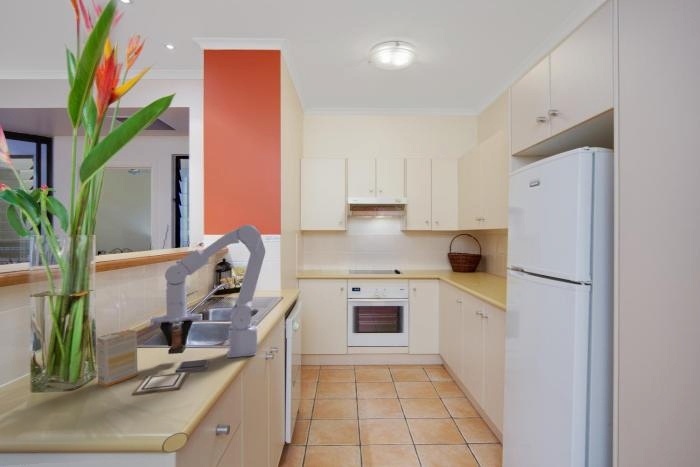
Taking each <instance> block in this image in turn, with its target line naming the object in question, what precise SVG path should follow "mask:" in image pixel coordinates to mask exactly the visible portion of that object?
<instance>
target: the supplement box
mask: <svg viewBox="0 0 700 467" xmlns="http://www.w3.org/2000/svg"><path fill="white" fill-rule="evenodd" d="M96 355H97V357H96V358H97V361H96V362H97V384H99V385H101V386H103V387H105V388H108V387H110V386H112V385H116V384H118V383H121V382H123V381H126V380H128V379H131V378H134V377H136V376H138V331H137V330H133V329H130V328H128V329H123V330H120V331H119V330H118V331H115V332H111V333H107V334H101V335H99V336H96Z"/></svg>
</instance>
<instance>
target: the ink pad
mask: <svg viewBox="0 0 700 467" xmlns="http://www.w3.org/2000/svg"><path fill="white" fill-rule="evenodd" d="M209 365H210V359H209V358H208V359H207V358H206V359H198V360H197V359H196V360H186V361H181V362H180V364H179V366H177V368H176V369H175V370H176V372H175V373H182V372H189V373H191V372H202V371H203V372H204V371H207V368H208V367H207V366H209Z"/></svg>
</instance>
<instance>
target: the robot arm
mask: <svg viewBox="0 0 700 467" xmlns="http://www.w3.org/2000/svg"><path fill="white" fill-rule="evenodd" d="M240 242H241V243H242V244H243V245H245V247H246V249H247V250H248V251H249V258H248V261H247V265H246V268H245V273H244V275H243V279H242V282H241V287H240V290H239V293H238V297H237V298H236V301H235V304H234V306H233V307H232V308H231V309H230V311H229V318H230V325H228V336H229V337H228V343H229V344H228V346H229V349H228V352H227V354H226V358H227V359H228V358H237V357H246V356H247V357H249V356H256V355H258V348H259V341H258V325H252V323H251V322H252V316H251V311H252V306H253V304H252V303H253V298H254V294H255V290H256V288H257V284H258V280H259V278H260V273H261V270H262V266H263V261H264V258H265V255H266V248H265V245H264V242H263V238H262V233H260V231H259V230H258V229H257V228H256V226H254V225H252V224H244V225H241V226H239V227H238V228H235V229H233V230H230V231H229V232H227V233H225V234H224V235H222V236H221V237H220V238H218V239H217V240H215V241H214V242H213V243H210V245H209V246H207V247H206V248H204V249H195V250H190V251H189V252H188V254H187V255H186V256H185V257H183V258H182V259H177V260H176V261H175V263H176V264H173V265H171V266H169V267H168V268H167V269H166V271H165V274H164V278H165V280H166V290H165V292H166V293H165V295H166V296H165V297H166V298H165V299H166V302H165V303H166V315H160V316H152V317H151V318H150V326H153V325H160V327H159V329H160V330H161V332H162V333H163V335H164V337H165V339H166V342H167V346H168V347H170V348H171V343H172V335H171V331H173V327H174V326H173V325H174V323H181V325H180V327H181V330H182V334H183V338H182V345H186V344H187V342H188V336H189V332H190V330H191V327H192V325H193V323H194V322H201V321H202V320H203V313H188V304H187V303H188V302H187V300H188V298H187V296H188V295H187V291H188V290H187V289H188V288H187V286H186V285H187V284H186V277H187V276H192V275H193V274H195V273H196V272H197V271H199V270H201V269H202V268H203V267H205V266H206V265H208V264H209V258H210V257H212V256H213V255H215V254H217V253H218V252H220V251H221V250H223V249H225V248H226V247H228V246H229V245H231V244H232V245H233V244H240Z"/></svg>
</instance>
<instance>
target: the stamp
mask: <svg viewBox="0 0 700 467" xmlns="http://www.w3.org/2000/svg"><path fill="white" fill-rule="evenodd" d="M171 335H172V343H171V346H170V348H168V350H167V351H168V353H167V354H168V355H177V354H183V353H184V352H185V350H186V346H187V345H186V344H185V345H182V338H183V334H182V329H173V330H172V331H171Z"/></svg>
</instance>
